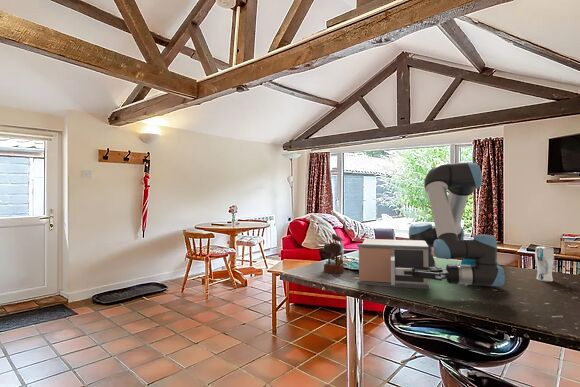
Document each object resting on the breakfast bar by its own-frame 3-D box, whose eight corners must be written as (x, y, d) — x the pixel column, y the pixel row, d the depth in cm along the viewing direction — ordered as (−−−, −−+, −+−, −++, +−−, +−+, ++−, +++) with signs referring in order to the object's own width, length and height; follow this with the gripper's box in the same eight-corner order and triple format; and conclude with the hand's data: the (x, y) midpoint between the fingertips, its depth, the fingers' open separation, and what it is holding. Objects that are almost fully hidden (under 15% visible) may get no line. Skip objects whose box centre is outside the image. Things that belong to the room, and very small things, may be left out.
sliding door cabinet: (357, 284, 152) (357, 244, 151) (361, 274, 169) (360, 238, 168) (429, 288, 143) (428, 246, 143) (425, 278, 160) (424, 240, 160)
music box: (350, 270, 176) (348, 233, 175) (340, 276, 168) (338, 237, 166) (325, 266, 186) (323, 231, 184) (315, 272, 177) (312, 235, 176)
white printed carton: (554, 279, 154) (554, 247, 154) (553, 282, 149) (553, 249, 149) (536, 277, 159) (536, 245, 159) (534, 280, 154) (533, 247, 154)
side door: (356, 288, 140) (355, 252, 140) (359, 279, 153) (358, 247, 153) (395, 291, 135) (394, 254, 135) (394, 282, 148) (394, 248, 148)
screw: (338, 264, 190) (337, 263, 195) (347, 264, 191) (345, 262, 195) (338, 242, 190) (336, 240, 195) (346, 241, 190) (345, 240, 195)
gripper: (461, 288, 125) (395, 284, 132) (454, 279, 138) (395, 276, 144) (461, 268, 125) (395, 265, 132) (454, 261, 138) (394, 258, 144)
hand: (395, 271), depth 138 cm, fingers closed
